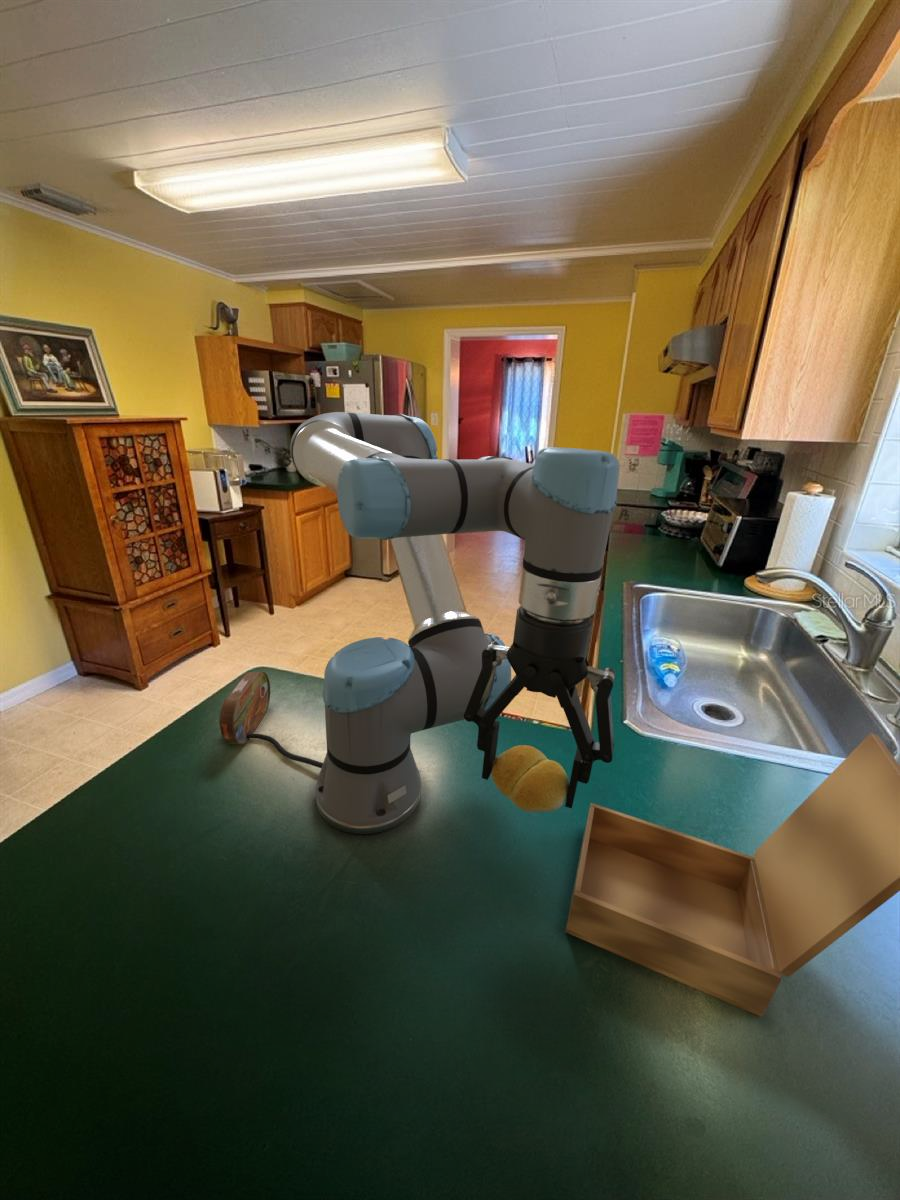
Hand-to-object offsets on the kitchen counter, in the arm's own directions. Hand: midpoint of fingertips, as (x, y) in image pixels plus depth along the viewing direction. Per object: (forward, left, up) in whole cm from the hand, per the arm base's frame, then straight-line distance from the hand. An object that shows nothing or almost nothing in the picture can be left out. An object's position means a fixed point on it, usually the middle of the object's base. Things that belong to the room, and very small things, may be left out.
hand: (528, 785), depth 55 cm
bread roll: (0, 0, 0) cm, 0 cm away
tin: (-50, +6, -13) cm, 52 cm away
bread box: (+17, +1, -13) cm, 21 cm away
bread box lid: (+29, +1, +3) cm, 29 cm away
